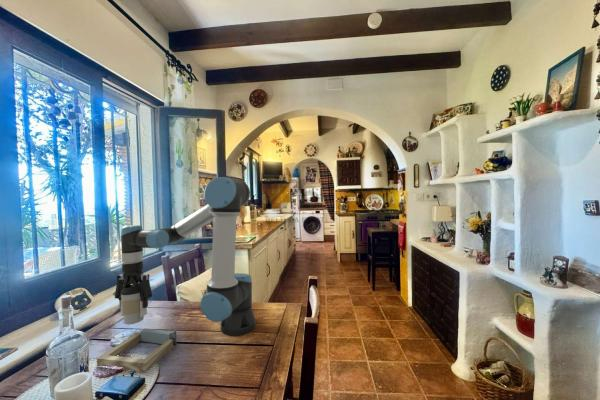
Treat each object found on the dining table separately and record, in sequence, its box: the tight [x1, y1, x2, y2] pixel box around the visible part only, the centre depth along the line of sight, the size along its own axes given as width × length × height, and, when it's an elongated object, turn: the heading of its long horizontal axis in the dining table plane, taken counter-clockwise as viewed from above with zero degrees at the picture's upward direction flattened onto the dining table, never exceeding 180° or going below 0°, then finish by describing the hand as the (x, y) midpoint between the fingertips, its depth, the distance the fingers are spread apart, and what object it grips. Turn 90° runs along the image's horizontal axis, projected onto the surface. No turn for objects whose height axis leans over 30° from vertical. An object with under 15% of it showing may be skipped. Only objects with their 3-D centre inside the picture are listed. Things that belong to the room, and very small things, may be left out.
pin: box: [171, 330, 177, 347], centre depth 97 cm, size 2×2×5 cm
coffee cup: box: [120, 284, 145, 325], centre depth 107 cm, size 9×9×15 cm
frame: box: [96, 331, 174, 373], centre depth 91 cm, size 18×17×3 cm
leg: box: [140, 328, 172, 345], centre depth 99 cm, size 13×2×4 cm, turn 77°
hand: (133, 314), depth 106 cm, fingers closed on coffee cup, 8 cm apart
